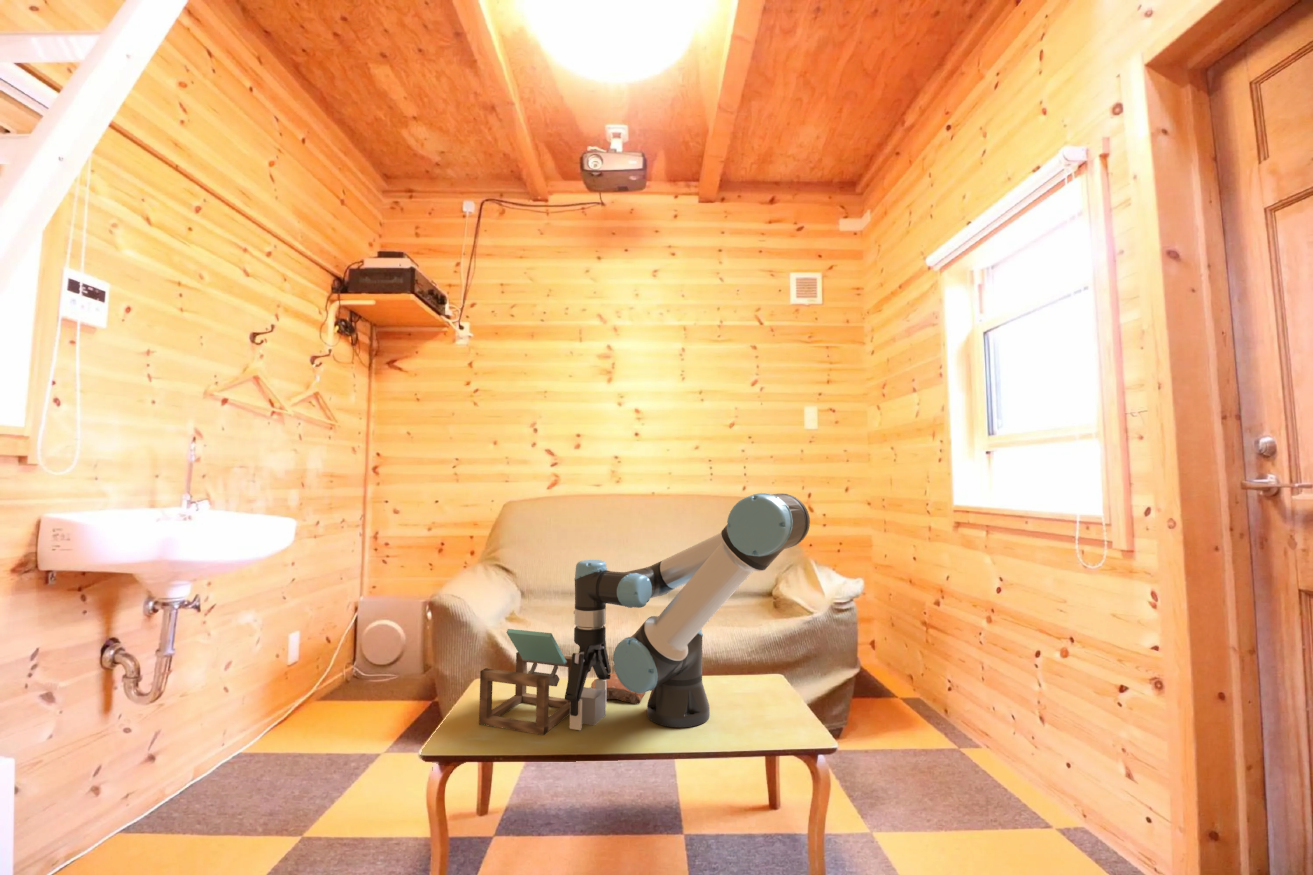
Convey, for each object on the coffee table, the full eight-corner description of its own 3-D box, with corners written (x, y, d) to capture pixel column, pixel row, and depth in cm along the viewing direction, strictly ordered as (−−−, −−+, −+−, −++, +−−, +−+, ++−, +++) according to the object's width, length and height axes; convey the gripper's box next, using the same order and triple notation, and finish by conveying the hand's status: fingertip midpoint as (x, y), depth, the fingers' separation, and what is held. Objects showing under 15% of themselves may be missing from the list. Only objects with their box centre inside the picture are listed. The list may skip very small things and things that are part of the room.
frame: (578, 706, 141) (579, 657, 142) (543, 734, 125) (544, 679, 126) (519, 697, 147) (520, 650, 148) (478, 724, 131) (480, 670, 132)
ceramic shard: (603, 662, 161) (654, 673, 158) (598, 685, 160) (650, 698, 157) (588, 671, 147) (643, 684, 144) (583, 697, 146) (639, 711, 142)
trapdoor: (564, 687, 140) (571, 668, 143) (544, 651, 131) (552, 632, 135) (520, 681, 144) (529, 663, 147) (498, 646, 135) (507, 628, 139)
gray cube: (605, 715, 136) (605, 689, 137) (594, 725, 131) (595, 698, 131) (582, 712, 138) (583, 686, 139) (571, 721, 132) (571, 695, 133)
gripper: (597, 613, 149) (596, 696, 147) (550, 637, 126) (548, 736, 124) (624, 615, 147) (623, 700, 145) (580, 640, 123) (579, 741, 121)
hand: (588, 717), depth 134 cm, fingers open, 13 cm apart
